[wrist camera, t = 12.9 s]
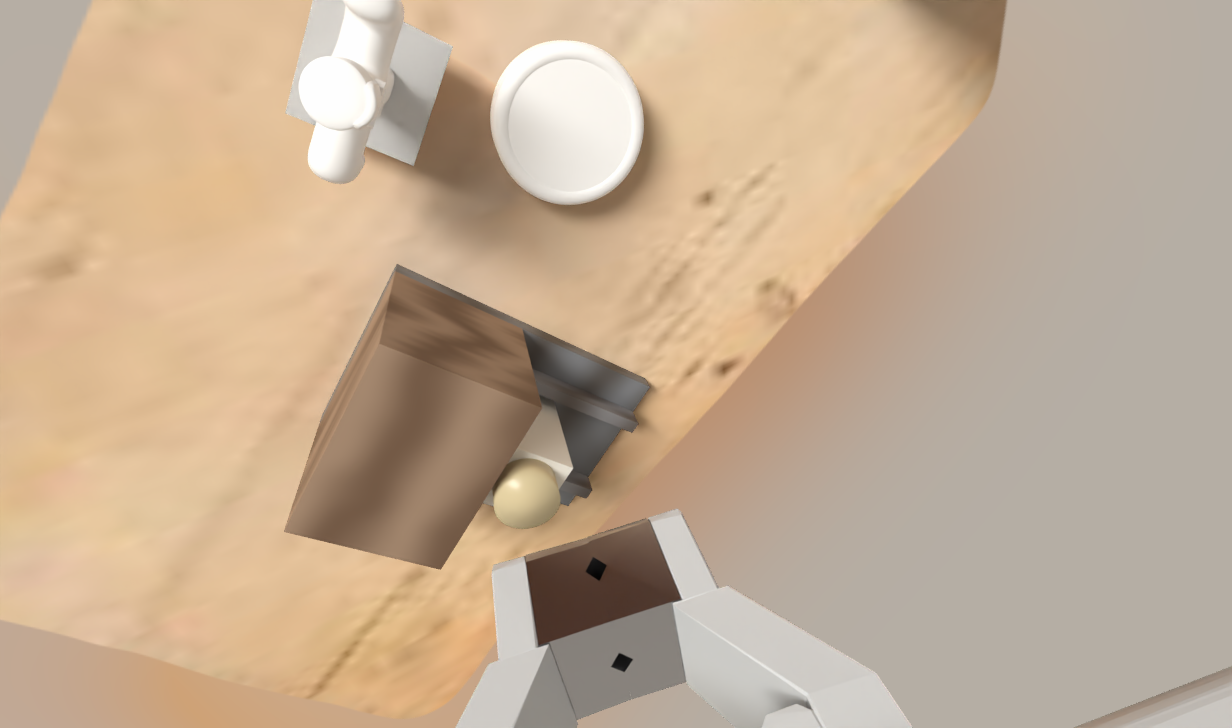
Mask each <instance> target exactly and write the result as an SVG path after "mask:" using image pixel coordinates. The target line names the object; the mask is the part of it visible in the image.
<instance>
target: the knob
mask: <svg viewBox="0 0 1232 728" xmlns="http://www.w3.org/2000/svg"><path fill="white" fill-rule="evenodd" d="M539 397H540V401H541V405H542V410H541V411H540V413H539V414H538V416H537V417H536V419H535V421H534V422H533V424H532V425H531V427H530V429H529V430H528V432H527V433H526V435H525V437H524V438H523V440H522V441H521V443H520V444H519V446H518V448H517V449H516V451H515V452H514V454H513V456H512V457H511V459H510V460H509V462H508V464H507V465H506V467H505V468H504V470H503V471H502V473H501V475H500V476H499V478H498V479H497V481H496V483H495V484H494V486H493V487H492V489H491V491H490V492H489V494H488V495H487V497H486V498H485V500H484V502H483V503H484V504H487V505H491V506H494V511H495V514H496V516H497V518H498V519H499V520H500V521H501V522H502V523H504V524H505V525H507V526H510V527H513V528H518V529H527V528H533V527H537V526H539V525H542V524H543V523H545V522H547V521H548V520H550V519H551V518H552V517H553V516H554V515H555V513H556V512H557V510H558V508H559V506H560V500H561V499H560V493H559V489H560V487H561V486H562V484H563V483H564V481H565V480H566V478H567V477H568V475H569V474H570V472H571V471H572V469H573V465H572V462H571V458H570V455H569V452H568V448H567V445H566V441H565V438H564V434H563V431H562V427H561V424H560V420H559V417H558V413H557V410H556V406H555V403H554V401H553V400H550V399H548V398H545V397H543V396H540V395H539Z"/></svg>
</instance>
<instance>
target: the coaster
mask: <svg viewBox="0 0 1232 728" xmlns="http://www.w3.org/2000/svg"><path fill="white" fill-rule="evenodd" d="M490 124H491V133H492V137H493V141H494V144H495V147H496V150H497V152H498V155H499V157H500V160H501V162H502V163H503V165H504V167H505V169H506V170H507V172H508V173H509V175H510V176H511V177H512V178H513V180H514V181H515V182H516V183H517V184H518V185H519V186H520V187H522V188H523V189H524V190H525V191H526V192H528V193H530V194H531V195H533V196H534V197H537V198H539V199H541V200H543V201H546V202H550V203H554V204H560V205H576V204H583V203H588V202H591V201H594V200H597V199H599V198H601V197H603V196H605V195H606V194H608V193H609V192H611V191H612V190H614V189H615V188H616V187H617V186H618V185H619V184H620V183H621V182H622V181H623V180H624V179H625V178H626V177H627V175H628V174H629V172H630V171H631V169H632V168H633V166H634V164H635V162H636V160H637V157H638V155H639V152H640V149H641V145H642V141H643V133H644V116H643V107H642V103H641V99H640V96H639V93H638V90H637V88H636V86H635V84H634V82H633V80H632V78H631V76H630V75H629V74H628V72H627V71H626V69H625V68H624V67H623V66H622V65H621V64H620V63H619V61H618V60H616V59H615V58H614V57H613V56H611V55H610V54H609V53H607V52H606V51H604V50H602V49H601V48H598V47H596V46H594V45H591V44H588V43H584V42H579V41H569V40H555V41H549V42H544V43H541V44H538V45H535V46H533V47H531V48H529V49H527V50H526V51H524V52H523V53H521V54H520V55H518V56H517V57H516V58H515V59H514V60H513V61H512V62H511V63H510V64H509V65H508V67H507V68H506V69H505V70H504V72H503V74H502V75H501V77H500V78H499V81H498V83H497V85H496V88H495V91H494V94H493V98H492V103H491V109H490Z"/></svg>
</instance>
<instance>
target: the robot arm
mask: <svg viewBox="0 0 1232 728" xmlns="http://www.w3.org/2000/svg"><path fill="white" fill-rule="evenodd" d="M492 584H493V597H494V609H495V622H496V634H497V647H498V661H495V662H492V663H490V664H488V666H487V668H486V670H485V672H484V674H483V675H482V677H481V680H480V681H479V683H478V685H477V687H476V689H475V691H474V693H473V695H472V697H471V699H470V701H469V703H468V704H467V706H466V708H465V710H464V712H463V714H462V716H461V718H460V720H459V722H458V724H457V726H456V728H577V725H578V723H577V720H578V719H581V718H583V717H586V716H589V715H591V714H594V713H596V712H599V711H602V710H604V709H607V708H610V707H612V706H615V705H618V704H620V703H623V702H626V701H628V700H631V699H634V698H637V697H640V696H643V695H647V694H650V693H653V692H656V691H659V690H663V689H666V688H669V687H672V686H675V685H678V684H682V683H684V682H687V685H688V686H689V687H690V688H691V689H693V691H695V692H696V693H697V694H698V695H699V696H700V697H701V698H703V699H704V700H705V701H706V702H707V703H708V704H709V705H710V706H711V707H713V708H714V709H715V710H716V711H717V712H718V713H720V714H721V715H722V716H723V717H724V718H725V719H726V720H727V721H728V722H730V723H731V724H732V725H733V726H734V727H735V728H913V727H912V726H911V724H910V723H909V721H908V720H907V718H906V717H905V715H904V714H903V712H902V711H901V709H900V708H899V706H898V705H897V703H896V702H895V701H894V699H893V697H892V696H891V694H890V693H889V692H888V690H887V688H886V687H885V685H884V684H883V682H882V681H881V680H880V678H879V676H878V675H877V674H876V673H875V672H874V671H872V670H870V669H868V668H867V667H865V666H864V665H862V664H860V663H859V662H857V661H855V660H853V659H852V658H850V657H848V656H847V655H845V654H843V653H842V652H840V651H838V650H837V649H835V648H833V647H832V646H830V645H828V644H827V643H825V642H823V641H821V640H820V639H818V638H816V637H815V636H813V635H811V634H810V633H808V632H806V631H805V630H803V629H801V628H800V627H798V626H796V625H795V624H793V623H791V622H789V621H788V620H786V619H784V618H783V617H781V616H779V615H778V614H776V613H774V612H773V611H771V610H769V609H767V608H766V607H764V606H762V605H761V604H759V603H757V602H756V601H754V600H752V599H751V598H749V597H747V596H746V595H744V594H742V593H740V592H739V591H737V590H735V589H734V588H732V587H730V586H729V585H727V586H724V587H721V588H719V587H718V585H717V583H716V581H715V579H714V577H713V575H712V573H711V571H710V569H709V567H708V565H707V563H706V561H705V559H704V557H703V555H702V553H701V551H700V549H699V547H698V545H697V542H696V541H695V538H694V536H693V534H692V533H691V530H690V529H689V526H688V524H687V522H686V520H685V518H684V516H683V514H682V512H681V511H679V510H678V509H674V510H671V511H668V512H665V513H662V514H658V515H655V516H652V517H649V518H648V520H647V519H642V520H640V521H636V522H633V523H630V524H627V525H624V526H620V527H617V528H614V529H611V530H608V531H605V532H602V533H598V534H595V535H592V536H589V537H587V538H585V539H581V540H577V541H574V542H570V543H567V544H563V545H560V546H556V547H553V548H549V549H545V550H542V551H538V552H535V553H531V554H528V555H526V556H523V557H519V558H516V559H512V560H509V561H505V562H502V563H498V564H494V565H493V570H492ZM630 694H631V695H630ZM1074 728H1232V666H1231V667H1228V668H1226V669H1223V670H1221V671H1218V672H1216V673H1213V674H1210V675H1208V676H1205V677H1202V678H1200V679H1197V680H1195V681H1192V682H1190V683H1187V684H1185V685H1182V686H1179V687H1177V688H1174V689H1172V690H1169V691H1167V692H1164V693H1161V694H1159V695H1156V696H1154V697H1151V698H1148V699H1146V700H1143V701H1141V702H1138V703H1136V704H1133V705H1131V706H1128V707H1125V708H1123V709H1120V710H1118V711H1115V712H1113V713H1110V714H1107V715H1105V716H1102V717H1100V718H1097V719H1095V720H1092V721H1090V722H1087V723H1084V724H1082V725H1079V726H1077V727H1074Z"/></svg>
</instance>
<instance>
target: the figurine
mask: <svg viewBox="0 0 1232 728" xmlns="http://www.w3.org/2000/svg"><path fill="white" fill-rule="evenodd" d="M403 21H404V7H403V4H402V2H401V0H313V2H312V6H311V10H310V15H309V19H308V23H307V27H306V31H305V35H304V39H303V43H302V47H301V51H300V55H299V59H298V64H297V68H296V72H295V76H294V80H293V84H292V88H291V92H290V96H289V100H288V104H287V109H286V114H288V115H291V116H293V117H296V118H298V119H301V120H303V121H305V122H308V123H310V124H313V125H315V129H314V133H313V137H312V140H311V144H310V147H309V151H308V163H309V166H310V168H311V170H312V171H313V172H314V173H315V174H316V175H317V176H318V177H320V178H322V179H323V180H326V181H328V182H331V183H336V184H345V183H348V182H351V181H352V180H354V179H355V178H356V177H357V176H358V174H359V173H360V171H361V169H362V168H363V166H364V163H365V157H364V150H365V147H369V148H371V149H373V150H376V151H378V152H381V153H383V154H386V155H388V156H390V157H393V158H395V159H398V160H400V161H403V162H405V163H407V164H410V165H412V166H414V163H415V160H416V157H417V154H418V151H419V148H420V145H421V142H422V139H423V136H424V133H425V130H426V127H427V124H428V121H429V118H430V115H431V111H432V108H433V105H434V102H435V99H436V96H437V93H438V90H439V87H440V84H441V81H442V78H443V75H444V72H445V69H446V66H447V63H448V60H449V57H450V54H451V51H452V48H453V46H451V45H449V44H447V43H445V42H443V41H441V40H439V39H437V38H435V37H433V36H431V35H429V34H427V33H425V32H423V31H421V30H419V29H417V28H415V27H413V26H411V25H409V24H407V23H405V22H403Z"/></svg>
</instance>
